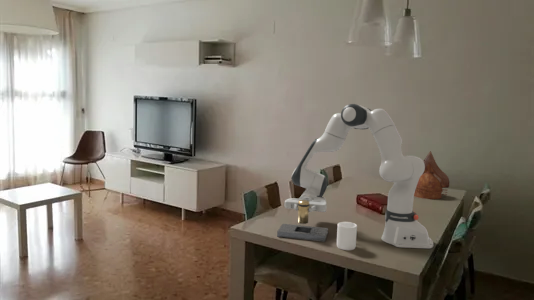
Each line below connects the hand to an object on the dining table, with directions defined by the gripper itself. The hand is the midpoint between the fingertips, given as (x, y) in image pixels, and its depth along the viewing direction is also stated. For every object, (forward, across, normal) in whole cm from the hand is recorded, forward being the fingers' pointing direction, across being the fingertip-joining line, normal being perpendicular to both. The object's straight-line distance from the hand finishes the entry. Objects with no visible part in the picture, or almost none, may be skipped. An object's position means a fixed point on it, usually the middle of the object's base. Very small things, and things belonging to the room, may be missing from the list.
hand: (303, 209), depth 203 cm
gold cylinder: (-1, 0, +6) cm, 6 cm away
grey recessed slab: (-1, 0, +12) cm, 13 cm away
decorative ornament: (-104, +66, +13) cm, 124 cm away
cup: (+7, +21, +12) cm, 26 cm away
